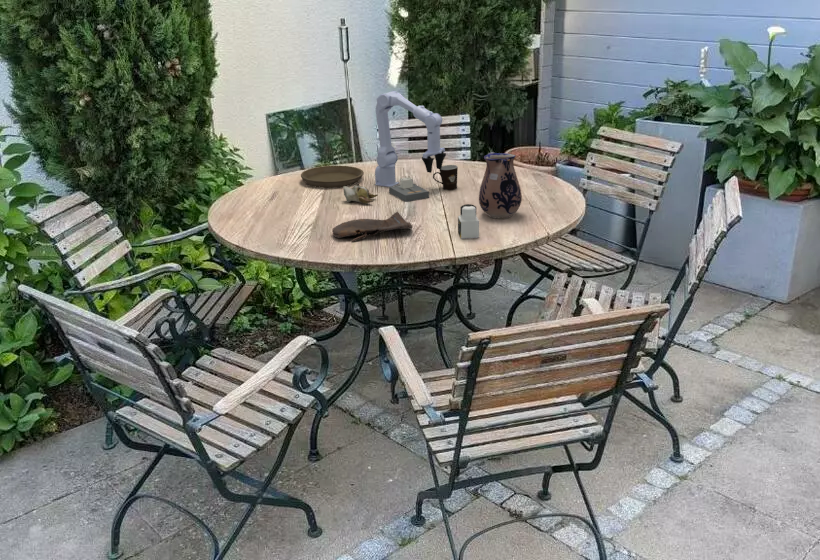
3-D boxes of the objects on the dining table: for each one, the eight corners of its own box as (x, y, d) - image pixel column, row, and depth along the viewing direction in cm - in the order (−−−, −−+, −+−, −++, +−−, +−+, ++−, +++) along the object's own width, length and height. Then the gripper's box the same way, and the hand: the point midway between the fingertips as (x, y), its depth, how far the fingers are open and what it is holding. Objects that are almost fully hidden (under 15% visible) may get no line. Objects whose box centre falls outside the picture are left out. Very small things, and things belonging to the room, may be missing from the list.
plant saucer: (376, 177, 362) (375, 168, 360) (338, 193, 338) (337, 183, 336) (327, 171, 378) (327, 162, 376) (288, 185, 354) (287, 176, 352)
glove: (336, 245, 272) (335, 232, 270) (329, 228, 290) (328, 217, 288) (417, 236, 279) (416, 224, 277) (405, 221, 297) (405, 209, 295)
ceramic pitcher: (494, 224, 288) (495, 163, 278) (466, 211, 305) (466, 153, 296) (529, 217, 295) (531, 157, 286) (500, 204, 313) (501, 147, 303)
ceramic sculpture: (346, 179, 326) (378, 182, 323) (346, 197, 329) (378, 200, 327) (339, 186, 316) (372, 188, 314) (340, 204, 320) (372, 207, 317)
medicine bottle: (457, 233, 280) (457, 203, 275) (475, 232, 281) (476, 202, 276) (460, 239, 274) (460, 208, 269) (479, 238, 274) (479, 207, 269)
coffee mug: (459, 184, 342) (458, 164, 338) (458, 189, 334) (457, 169, 330) (435, 186, 344) (433, 166, 340) (434, 191, 336) (432, 171, 332)
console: (389, 193, 335) (388, 186, 334) (412, 189, 340) (411, 182, 339) (405, 201, 321) (405, 195, 320) (429, 197, 326) (428, 191, 324)
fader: (400, 187, 331) (400, 178, 329) (410, 185, 333) (409, 177, 331) (403, 188, 328) (402, 180, 327) (412, 187, 330) (412, 178, 329)
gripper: (431, 145, 318) (431, 175, 324) (450, 139, 329) (450, 168, 334) (418, 143, 323) (419, 173, 328) (437, 137, 333) (438, 166, 338)
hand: (434, 170), depth 331 cm, fingers open, 7 cm apart
